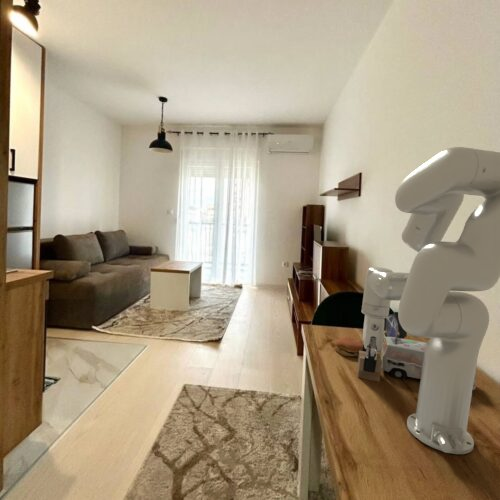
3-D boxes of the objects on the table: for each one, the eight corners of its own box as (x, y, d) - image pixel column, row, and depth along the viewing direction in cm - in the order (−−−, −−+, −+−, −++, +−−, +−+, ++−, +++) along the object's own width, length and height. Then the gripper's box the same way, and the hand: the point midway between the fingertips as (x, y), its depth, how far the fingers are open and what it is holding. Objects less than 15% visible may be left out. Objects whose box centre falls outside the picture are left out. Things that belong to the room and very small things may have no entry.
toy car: (475, 396, 90) (481, 362, 89) (379, 375, 98) (383, 343, 97) (464, 380, 100) (469, 348, 99) (378, 362, 108) (382, 333, 107)
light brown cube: (379, 382, 94) (382, 362, 93) (357, 377, 95) (360, 357, 95) (377, 373, 99) (379, 354, 99) (357, 369, 101) (359, 350, 100)
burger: (330, 351, 114) (331, 338, 113) (342, 345, 121) (343, 333, 120) (357, 361, 107) (359, 347, 107) (368, 354, 114) (370, 341, 114)
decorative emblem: (403, 359, 112) (408, 316, 110) (396, 358, 112) (401, 316, 110) (389, 346, 123) (393, 307, 122) (382, 345, 123) (387, 307, 122)
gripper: (392, 320, 86) (384, 380, 88) (385, 304, 103) (378, 355, 105) (363, 315, 88) (355, 374, 90) (360, 300, 105) (354, 350, 107)
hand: (367, 364), depth 98 cm, fingers open, 9 cm apart
